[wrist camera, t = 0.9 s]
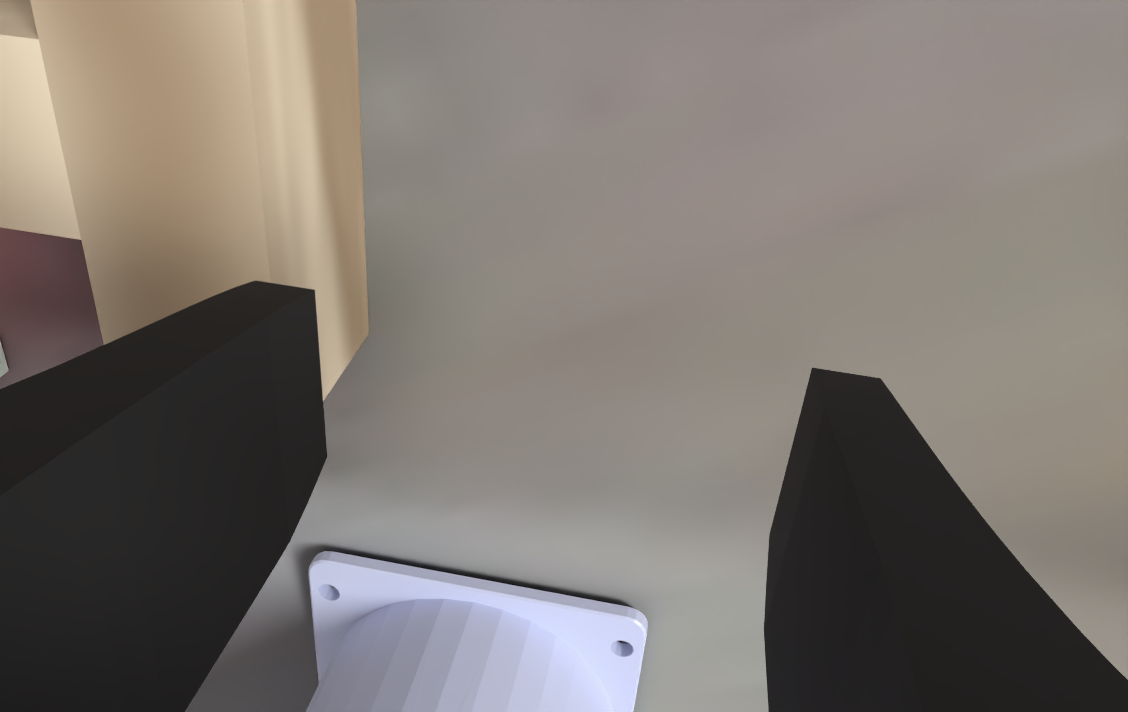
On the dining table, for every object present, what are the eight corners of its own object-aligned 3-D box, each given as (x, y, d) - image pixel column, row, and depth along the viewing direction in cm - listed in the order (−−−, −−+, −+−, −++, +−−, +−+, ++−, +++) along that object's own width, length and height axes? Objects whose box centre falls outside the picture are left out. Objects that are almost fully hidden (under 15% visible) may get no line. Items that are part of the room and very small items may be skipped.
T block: (346, -248, 14) (217, -244, 11) (368, 333, 20) (287, 453, 16) (-206, -300, 15) (-477, -311, 12) (-40, 268, 21) (-195, 369, 17)
